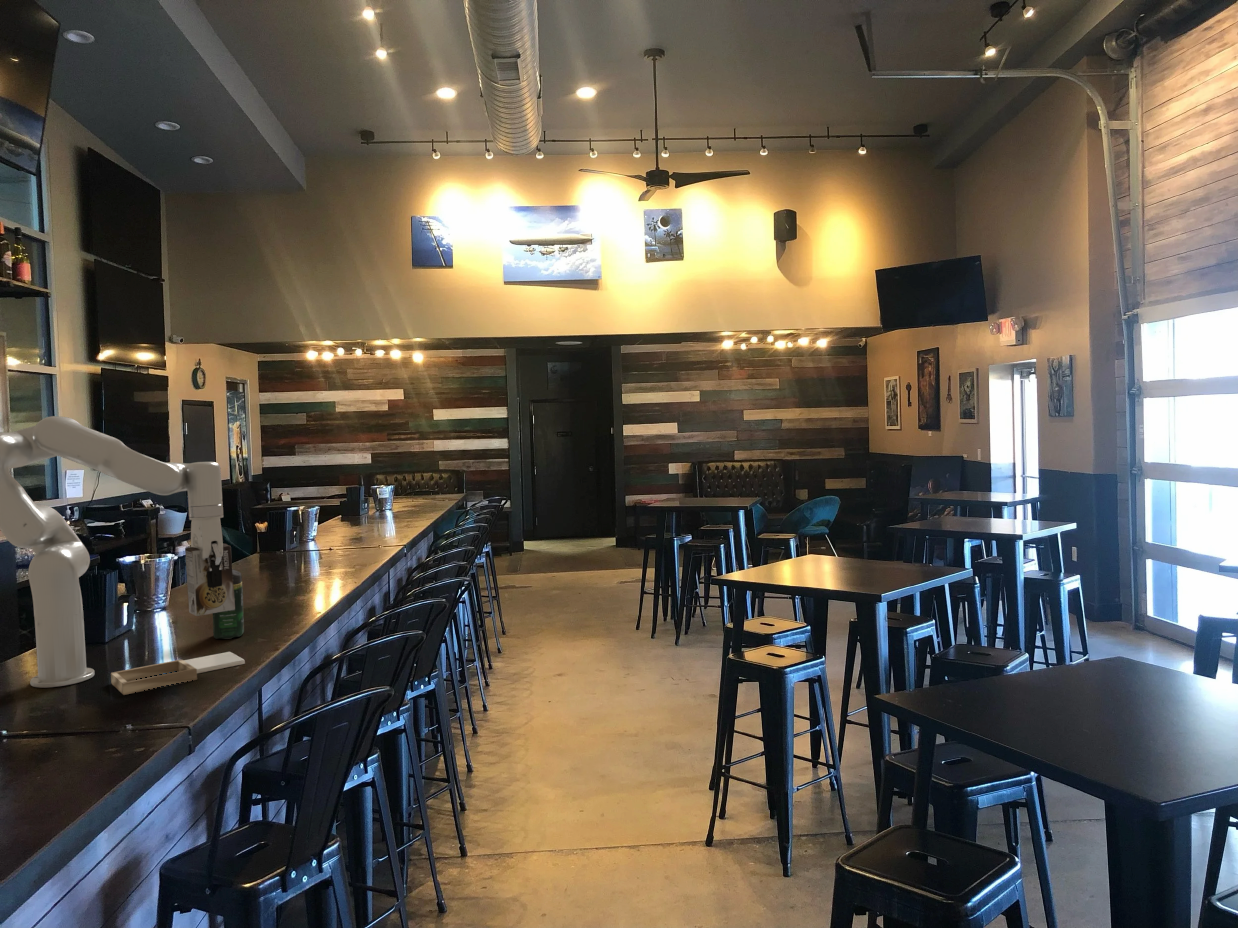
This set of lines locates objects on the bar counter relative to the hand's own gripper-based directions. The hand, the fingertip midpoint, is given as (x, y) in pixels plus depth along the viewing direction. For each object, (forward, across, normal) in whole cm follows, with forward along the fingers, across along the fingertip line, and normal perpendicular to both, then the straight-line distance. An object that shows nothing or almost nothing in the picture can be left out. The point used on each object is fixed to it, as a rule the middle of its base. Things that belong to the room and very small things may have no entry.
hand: (210, 584), depth 208 cm
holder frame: (+20, +5, -15) cm, 25 cm away
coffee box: (+7, 0, 0) cm, 7 cm away
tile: (+20, 0, 0) cm, 20 cm away
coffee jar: (+20, -28, +12) cm, 37 cm away
